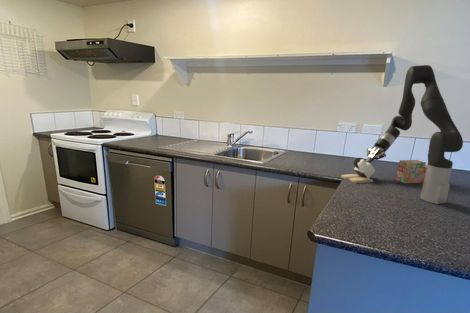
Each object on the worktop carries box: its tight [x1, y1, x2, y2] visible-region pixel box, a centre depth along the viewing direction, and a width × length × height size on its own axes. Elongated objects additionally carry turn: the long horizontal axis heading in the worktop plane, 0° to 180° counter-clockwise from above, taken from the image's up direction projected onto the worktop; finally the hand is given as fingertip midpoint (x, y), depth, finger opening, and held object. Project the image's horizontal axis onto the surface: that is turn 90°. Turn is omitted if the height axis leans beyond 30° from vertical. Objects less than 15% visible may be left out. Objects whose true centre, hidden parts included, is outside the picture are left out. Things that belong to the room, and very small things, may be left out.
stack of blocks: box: [395, 159, 427, 184], centre depth 159 cm, size 21×6×12 cm, turn 101°
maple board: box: [340, 173, 374, 184], centre depth 158 cm, size 12×12×1 cm
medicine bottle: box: [353, 157, 376, 179], centre depth 160 cm, size 7×7×12 cm
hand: (367, 162), depth 161 cm, fingers closed
